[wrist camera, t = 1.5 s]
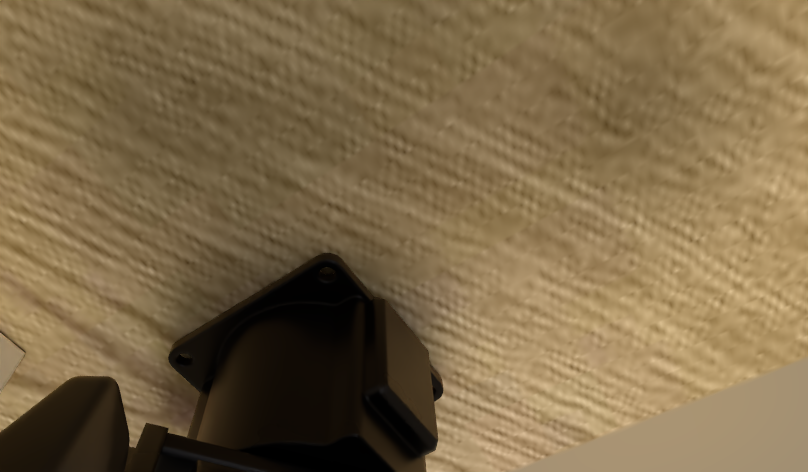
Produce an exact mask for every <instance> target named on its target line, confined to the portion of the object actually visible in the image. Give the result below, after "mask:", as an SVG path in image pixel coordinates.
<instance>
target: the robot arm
mask: <svg viewBox="0 0 808 472" xmlns="http://www.w3.org/2000/svg"><path fill="white" fill-rule="evenodd" d="M325 267H329V268H332V269H333V270H335V272H334V273H333V274H330V275H328V274H324V273H322V272H321V269H322V268H325ZM183 353H184V354H188V355H190V356H191V357H192V358H185V357H183V356H181V354H183ZM168 359H169V363H170V364H171V366H172V367H173V368H174V369H175V370H176V371H177V372H178V373H179V374H181V375H182V376H183V377H184V378H185V379H186V380H187V381H188V382H189V383H190V384H191V385H193V386H194V387H195V388H196V389H197V390H198V391H199V392H200V396H199V399H198V403H197V406H196V409H195V413H194V416H193V420H192V423H191V426H190V430H189V433H188V436H187V437H183V436H179V435H175V434H171V433H167V432H168V429H169V428H165V427H161V426H158V425H154V424H150V423H146V424H145V427H144V429H143V432H142V434H141V437H140V439H139V441H138V444H137V446H136V448H134V447H129V430H128V426H127V421H126V417H125V412H124V408H123V403H122V399H121V394H120V390H119V386H118V384H117V382H116V381H115V379H113V378H111V377H107V376H77V377H73V378H71V379H69V380H67V381H66V382H65V383H63V384H62V385H61V386H59V387H58V388H57V389H56V390H54V391H53V392H52V393H50V394H49V395H48V396H47V397H45V398H44V399H43V400H41V401H40V402H39V403H38V404H36V405H35V406H34V407H32V408H31V409H30V410H29V411H27V412H26V413H25V414H23V415H22V416H21V417H20V418H18V419H17V420H16V421H14V422H13V423H12V424H11V425H9V426H8V427H7V428H5V429H4V430H3V431H2V432H0V472H426V462H425V455H427V454H429V453H431V452H433V451H435V450H436V446H437V442H438V433H437V424H436V415H435V407H434V401H436V400H438V399H439V398H440V397H441V396H442V394H443V383H442V379H441V377H440V375H439V374H438V373H437V372H436V371H435V369H434V368H433V367H432V366H431V365H430V362H429V353H428V350H427V349H426V347H425V346H424V345H423V344H422V343H421V341H420V340H419V339H418V338H417V337H416V335H415V334H414V333H413V332H412V331H411V329H410V328H409V327H408V326H407V325H406V323H405V322H404V321H403V320H402V319H401V317H400V316H399V315H398V314H397V313H396V311H395V310H394V309H393V308H392V307H391V305H390V304H389V303H388V302H387V301H386V300H384V299H381V298H378V297H376V298H374V297H373V296H372V294H371V293H370V292H369V291H368V290H367V289H366V287H365V286H364V285H363V284H362V283H361V281H360V280H359V279H358V278H357V277H356V275H355V274H354V273H353V272H352V271H351V270H350V268H349V267H348V266H347V265H346V264H345V262H344V261H343V260H342V259H341V258H340V257H338V256H337V255H335V254H332V253H323V254H321V255H318V256H316V257H315V258H313V259H312V260H310V261H308V262H307V263H305V264H303V265H302V266H300V267H298V268H297V269H295V270H293V271H292V272H290V273H288V274H287V275H285V276H284V277H282V278H280V279H279V280H277V281H275V282H274V283H272V284H270V285H269V286H267V287H265V288H264V289H262V290H261V291H259V292H257V293H256V294H254V295H252V296H251V297H249V298H247V299H246V300H244V301H242V302H241V303H239V304H238V305H236V306H234V307H233V308H231V309H229V310H228V311H226V312H224V313H223V314H221V315H219V316H218V317H216V318H215V319H213V320H211V321H210V322H208V323H206V324H205V325H203V326H201V327H200V328H198V329H196V330H195V331H193V332H192V333H190V334H188V335H187V336H185V337H183V338H182V339H180V340H178V341H177V342H176V343H175V344H174V345H173V346H172V349H171V351H170V354H169V357H168ZM432 386H433V387H432Z"/></svg>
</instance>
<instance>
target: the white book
mask: <svg viewBox="0 0 808 472" xmlns="http://www.w3.org/2000/svg"><path fill="white" fill-rule="evenodd" d="M24 356H25V353H24V352H23V351H22V350H21V349H20V348H18V347H17V346H16V345H15V344H14V343H12V342H11V341H10V340H9V339H8V338H6V337H5V336H4V335H3V334H1V333H0V393H1V391H2V390H3V388H4V387H5V385H6V384H7V382H8V381H9V379H10V378H11V376H12V375H13V373H14V371H15V370H16V368H17V367H18V365H19V364H20V362H21V361H22V359H23V358H24Z"/></svg>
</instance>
